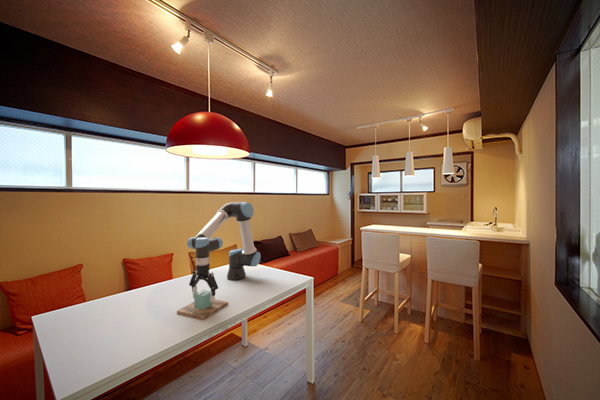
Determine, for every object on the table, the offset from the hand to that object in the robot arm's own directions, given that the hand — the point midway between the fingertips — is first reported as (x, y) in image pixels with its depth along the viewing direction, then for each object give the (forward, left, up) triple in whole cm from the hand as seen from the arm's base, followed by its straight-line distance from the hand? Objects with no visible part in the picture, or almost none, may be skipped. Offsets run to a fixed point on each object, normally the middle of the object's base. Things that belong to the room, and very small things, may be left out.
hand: (203, 299), depth 142 cm
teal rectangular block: (0, 0, -4) cm, 4 cm away
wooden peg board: (0, 0, -6) cm, 6 cm away
